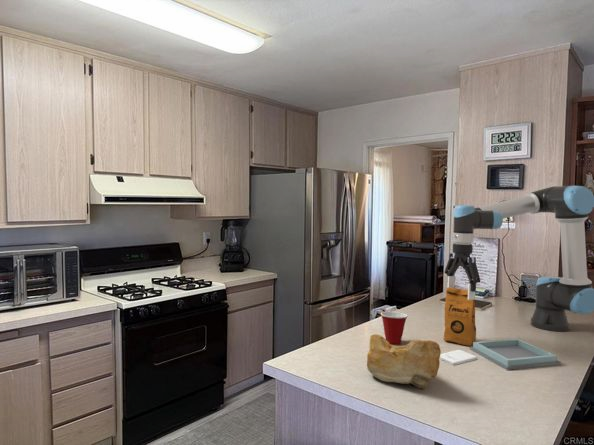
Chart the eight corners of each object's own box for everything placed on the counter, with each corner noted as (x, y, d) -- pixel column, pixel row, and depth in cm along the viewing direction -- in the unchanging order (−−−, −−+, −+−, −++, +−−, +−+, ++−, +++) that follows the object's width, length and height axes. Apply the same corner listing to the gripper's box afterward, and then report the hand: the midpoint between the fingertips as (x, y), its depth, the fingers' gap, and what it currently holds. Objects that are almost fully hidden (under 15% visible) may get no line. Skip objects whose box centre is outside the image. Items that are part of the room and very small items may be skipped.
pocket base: (517, 345, 164) (518, 337, 164) (560, 364, 145) (560, 356, 144) (469, 349, 159) (470, 341, 159) (507, 370, 140) (507, 361, 139)
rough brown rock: (451, 382, 132) (452, 335, 132) (435, 397, 118) (436, 345, 119) (384, 366, 145) (385, 324, 146) (363, 379, 132) (364, 332, 132)
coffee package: (471, 349, 159) (473, 293, 158) (440, 341, 167) (441, 288, 166) (479, 342, 167) (480, 289, 166) (448, 335, 175) (450, 284, 174)
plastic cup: (409, 340, 168) (410, 311, 168) (404, 348, 159) (405, 318, 158) (383, 336, 173) (383, 308, 172) (377, 344, 163) (377, 315, 163)
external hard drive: (476, 360, 149) (452, 367, 143) (458, 353, 156) (435, 358, 151) (477, 356, 149) (453, 362, 143) (458, 349, 156) (435, 354, 150)
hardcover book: (480, 311, 215) (480, 307, 215) (439, 303, 231) (439, 299, 231) (491, 306, 226) (492, 302, 226) (451, 298, 243) (451, 295, 242)
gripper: (437, 240, 176) (435, 288, 177) (474, 247, 152) (472, 303, 153) (452, 240, 178) (450, 288, 179) (492, 246, 153) (489, 302, 155)
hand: (460, 295), depth 166 cm, fingers open, 13 cm apart
